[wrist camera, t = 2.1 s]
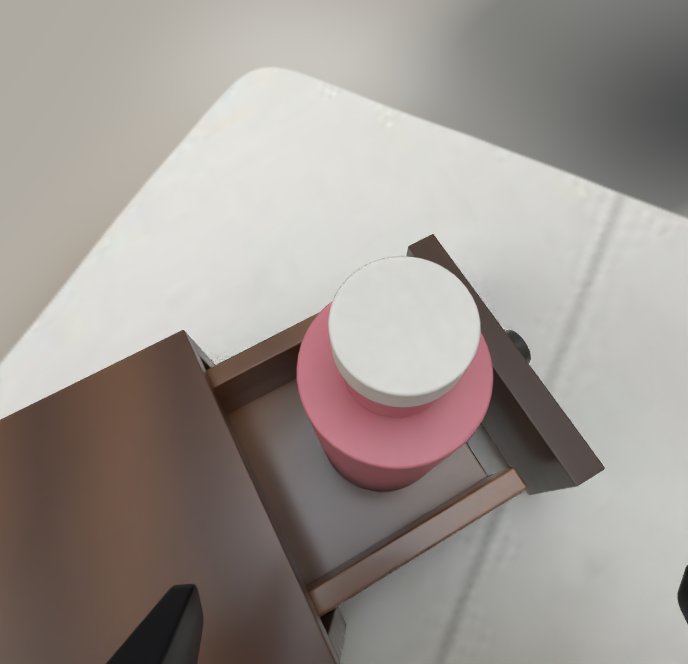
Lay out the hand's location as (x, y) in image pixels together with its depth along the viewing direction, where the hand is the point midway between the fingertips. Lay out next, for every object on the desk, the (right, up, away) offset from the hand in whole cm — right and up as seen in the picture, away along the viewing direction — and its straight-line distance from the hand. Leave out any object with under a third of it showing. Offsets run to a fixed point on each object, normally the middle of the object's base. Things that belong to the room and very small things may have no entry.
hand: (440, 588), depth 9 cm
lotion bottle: (0, +1, +11) cm, 11 cm away
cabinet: (-10, -5, +11) cm, 16 cm away
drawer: (0, 0, +12) cm, 12 cm away
